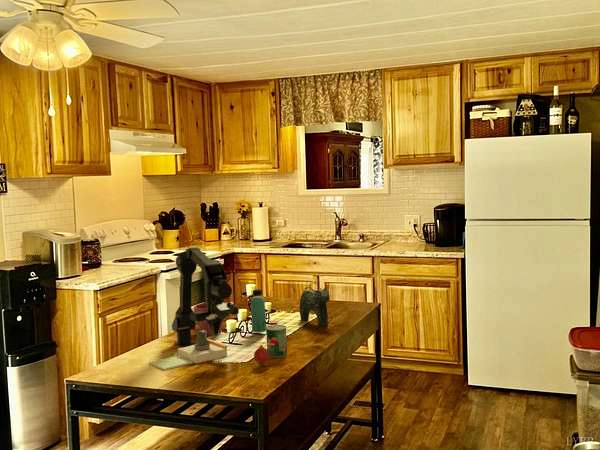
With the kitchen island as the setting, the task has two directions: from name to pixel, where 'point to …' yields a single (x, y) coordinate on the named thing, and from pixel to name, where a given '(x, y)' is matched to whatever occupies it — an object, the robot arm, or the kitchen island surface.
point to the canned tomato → (276, 340)
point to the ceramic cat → (315, 304)
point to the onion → (261, 356)
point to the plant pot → (203, 324)
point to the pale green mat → (170, 362)
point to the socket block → (201, 353)
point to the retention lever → (217, 344)
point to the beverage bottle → (258, 312)
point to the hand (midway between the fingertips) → (215, 335)
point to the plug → (201, 341)
